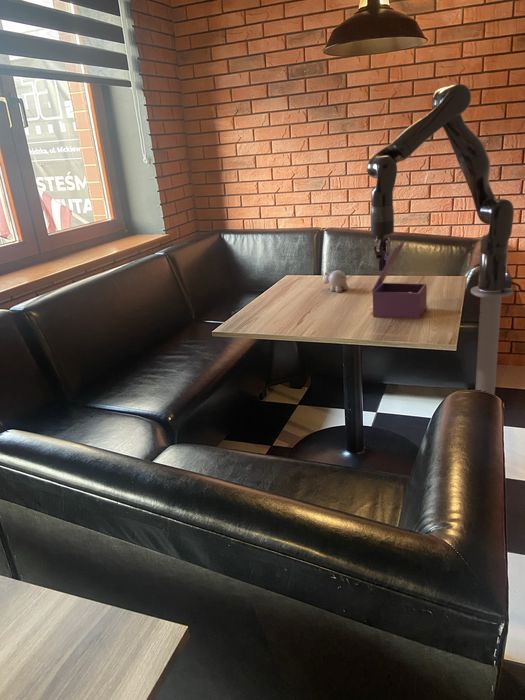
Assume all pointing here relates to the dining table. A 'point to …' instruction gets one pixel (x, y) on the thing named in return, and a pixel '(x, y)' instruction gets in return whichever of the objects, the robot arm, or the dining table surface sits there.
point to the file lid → (388, 265)
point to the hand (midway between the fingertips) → (382, 270)
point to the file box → (399, 300)
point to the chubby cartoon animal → (336, 280)
